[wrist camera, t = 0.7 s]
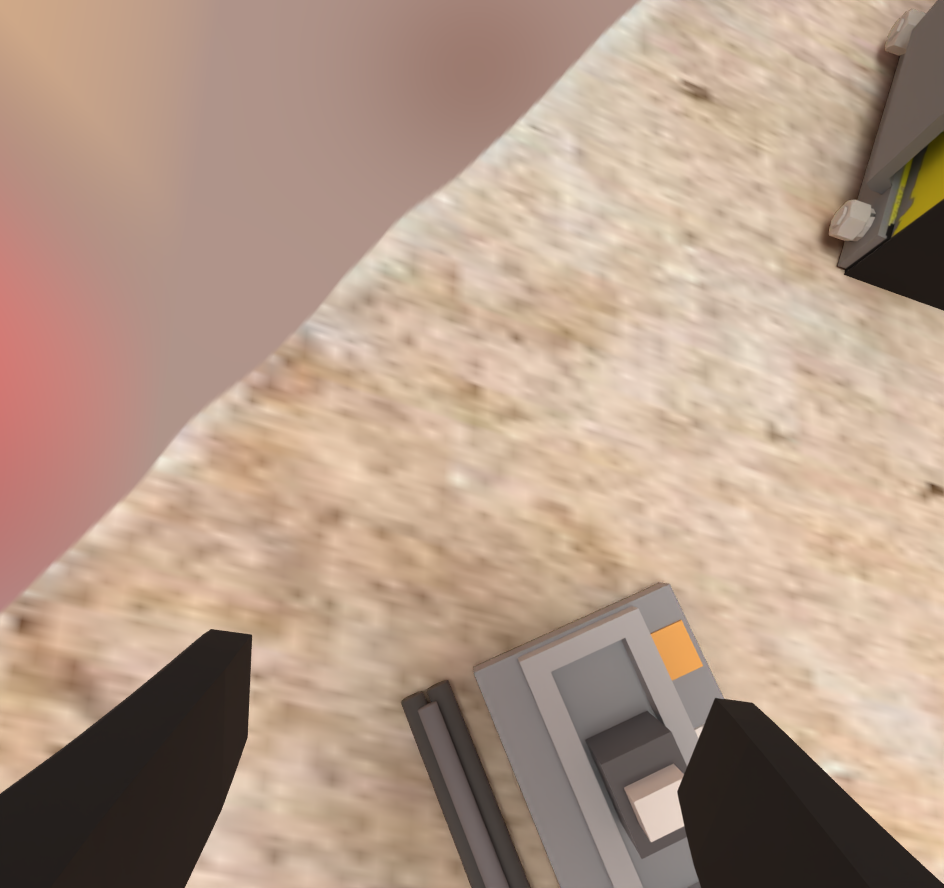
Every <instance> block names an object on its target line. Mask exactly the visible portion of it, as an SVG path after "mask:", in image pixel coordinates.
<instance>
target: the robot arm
mask: <svg viewBox="0 0 944 888" xmlns="http://www.w3.org/2000/svg"><path fill="white" fill-rule="evenodd" d="M251 649H252V635H250V634H243V633H236V632H228V631H221V630H214V629H211V630H209V631H208V632H206V633H205V634H203V635H202V636H201V637H200V638H198V639H197V640H196V641H195V642H194V643H192V644H191V645H190V646H189V647H188V648H186V649H185V650H184V651H183V652H182V653H181V654H179V655H178V656H177V657H176V658H175V659H173V660H172V661H171V662H170V663H169V664H167V665H166V666H165V667H164V668H163V669H161V670H160V671H159V672H158V673H157V674H155V675H154V676H153V677H152V678H151V679H149V680H148V681H147V682H146V683H145V684H143V685H142V686H141V687H140V688H138V689H137V690H136V691H135V692H134V693H132V694H131V695H130V696H129V697H127V698H126V699H125V700H124V701H122V702H121V703H120V704H119V705H117V706H116V707H115V708H114V709H112V710H111V711H110V712H108V713H107V714H106V715H105V716H103V717H102V718H101V719H100V720H98V721H97V722H96V723H95V724H93V725H92V726H91V727H89V728H88V729H87V730H86V731H84V732H83V733H82V734H81V735H79V736H78V737H77V738H75V739H74V740H73V741H71V742H70V743H69V744H68V745H66V746H65V747H64V748H62V749H61V750H60V751H58V752H57V753H55V754H54V755H53V756H51V757H50V758H49V759H47V760H46V761H44V762H43V763H42V764H40V765H39V766H38V767H36V768H35V769H33V770H32V771H31V772H29V773H28V774H27V775H25V776H24V777H23V778H21V779H20V780H18V781H17V782H16V783H14V784H13V785H12V786H10V787H9V788H7V789H6V790H5V791H3V792H2V793H1V794H0V888H185V886H186V884H187V882H188V880H189V878H190V876H191V873H192V871H193V869H194V867H195V865H196V863H197V861H198V859H199V857H200V855H201V852H202V850H203V848H204V846H205V844H206V842H207V840H208V838H209V836H210V833H211V831H212V829H213V827H214V825H215V823H216V821H217V818H218V816H219V814H220V812H221V810H222V807H223V805H224V802H225V799H226V796H227V794H228V791H229V788H230V786H231V783H232V780H233V777H234V775H235V772H236V769H237V766H238V763H239V760H240V758H241V755H242V752H243V749H244V746H245V743H246V740H247V738H248V716H249V693H250V671H251ZM677 794H678V799H679V803H680V808H681V813H682V817H683V822H684V827H685V832H686V836H687V840H688V844H689V848H690V852H691V856H692V860H693V864H694V868H695V871H696V874H697V877H698V880H699V883H700V886H701V888H944V884H943V883H942V882H941V881H939V880H938V879H937V878H936V877H935V876H934V875H933V874H932V873H931V872H930V871H928V870H927V869H926V868H925V867H924V866H923V865H922V864H921V863H920V862H919V861H918V860H917V859H915V858H914V857H913V856H912V855H911V854H910V853H909V852H908V851H907V850H906V849H905V848H904V847H903V846H902V845H900V844H899V843H898V842H897V841H896V840H895V839H894V838H893V837H892V836H891V835H890V834H889V833H888V832H887V831H886V830H885V829H884V828H883V827H881V826H880V825H879V824H878V823H877V822H876V821H875V820H874V819H873V818H872V817H871V816H870V815H869V814H868V813H867V812H866V811H865V810H864V809H863V808H862V807H861V806H860V805H859V804H858V803H856V802H855V801H854V800H853V799H852V798H851V797H850V796H849V795H848V794H847V793H846V792H845V791H844V790H843V789H842V788H841V787H840V786H839V785H838V784H837V783H836V782H835V781H834V780H833V779H832V778H831V777H830V776H829V775H828V774H827V773H826V772H825V771H824V770H823V769H822V768H821V767H820V766H819V765H818V764H817V763H815V762H814V761H813V760H812V759H811V758H810V757H809V756H808V755H807V754H806V753H805V752H804V751H803V750H802V749H801V748H800V747H799V746H798V745H797V744H796V743H795V742H794V741H793V740H792V739H791V738H790V737H789V736H788V735H787V734H786V733H785V732H784V731H783V730H781V729H780V728H779V727H778V726H777V725H776V724H775V723H774V722H773V721H772V720H771V719H770V718H769V717H768V716H767V715H765V714H764V713H763V712H762V711H761V710H760V709H759V708H758V707H756V706H755V705H754V704H753V703H750V702H742V701H735V700H728V699H720V698H715V699H714V701H713V704H712V706H711V709H710V711H709V714H708V716H707V719H706V721H705V724H704V726H703V729H702V731H701V734H700V736H699V739H698V741H697V744H696V746H695V748H694V751H693V753H692V756H691V758H690V761H689V763H688V766H687V768H686V771H685V773H684V776H683V778H682V781H681V783H680V786H679V788H678V791H677Z"/></svg>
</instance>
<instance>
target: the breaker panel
mask: <svg viewBox="0 0 944 888" xmlns="http://www.w3.org/2000/svg"><path fill="white" fill-rule="evenodd" d="M473 672H474V675H475V678H476V680H477V683H478V685H479V688H480V690H481V693H482V695H483V697H484V700H485V702H486V705H487V707H488V710H489V712H490V715H491V717H492V720H493V722H494V725H495V727H496V730H497V732H498V734H499V737H500V739H501V742H502V744H503V747H504V749H505V752H506V754H507V757H508V759H509V762H510V764H511V766H512V769H513V771H514V774H515V776H516V779H517V781H518V784H519V786H520V789H521V791H522V794H523V796H524V799H525V801H526V803H527V806H528V808H529V811H530V813H531V816H532V818H533V821H534V823H535V826H536V828H537V831H538V833H539V835H540V838H541V840H542V843H543V845H544V848H545V850H546V853H547V855H548V858H549V860H550V863H551V865H552V868H553V870H554V872H555V875H556V877H557V880H558V882H559V885H560V887H561V888H701V886H700V883H699V880H698V877H697V874H696V871H695V868H694V864H693V860H692V856H691V852H690V848H689V844H688V840H687V837H686V838H684V839H682V840H680V841H678V842H676V843H674V844H672V845H670V846H668V847H666V848H664V849H662V850H660V851H658V852H656V853H654V854H652V855H650V856H648V857H646V858H643V859H641V857H640V855H639V853H638V852H637V850H636V848H635V847H634V845H633V843H632V841H631V840H630V838H629V836H628V834H627V833H626V831H625V829H624V828H623V826H622V824H621V822H620V820H619V818H618V815H617V813H616V811H615V808H614V806H613V804H612V801H611V799H610V797H609V794H608V792H607V790H606V787H605V785H604V783H603V780H602V778H601V776H600V773H599V771H598V769H597V766H596V764H595V762H594V759H593V757H592V755H591V753H590V750H589V748H588V746H587V743H586V741H585V740H586V739H588V738H590V737H593V736H595V735H597V734H599V733H601V732H603V731H605V730H607V729H610V728H612V727H614V726H616V725H618V724H620V723H622V722H624V721H626V720H629V719H631V718H633V717H635V716H637V715H639V714H641V713H643V712H646V711H648V712H649V713H651V714H652V715H653V716H654V717H655V718H656V719H657V720H659V721H660V722H661V723H662V724H663V725H664V726H666V727H667V728H668V729H669V730H670V731H671V732H672V734H673V736H674V738H675V741H676V743H677V745H678V747H679V749H680V752H681V754H682V756H683V758H684V760H685V763H686V765H687V766H688V763H689V761H690V758H691V756H692V753H693V751H694V748H695V746H696V744H697V741H698V739H699V736H700V734H701V731H702V729H703V726H704V724H705V721H706V719H707V716H708V714H709V711H710V709H711V706H712V704H713V701H714V699H715V698H720V699H724V697H723V695H722V693H721V691H720V689H719V687H718V685H717V683H716V680H715V678H714V676H713V674H712V672H711V670H710V668H709V666H708V664H707V661H706V659H705V657H704V655H703V653H702V651H701V649H700V647H699V645H698V643H697V640H696V638H695V636H694V634H693V632H692V630H691V628H690V626H689V624H688V621H687V619H686V617H685V615H684V613H683V611H682V609H681V607H680V605H679V602H678V600H677V598H676V596H675V594H674V592H673V590H672V588H671V586H670V584H666V583H658V584H656V585H654V586H651V587H649V588H647V589H645V590H643V591H640V592H638V593H636V594H634V595H632V596H629V597H627V598H625V599H623V600H621V601H618V602H616V603H614V604H612V605H609V606H607V607H605V608H603V609H601V610H598V611H596V612H594V613H592V614H590V615H587V616H585V617H583V618H581V619H579V620H576V621H574V622H572V623H570V624H567V625H565V626H563V627H561V628H559V629H556V630H554V631H552V632H550V633H548V634H545V635H543V636H541V637H539V638H537V639H534V640H532V641H530V642H528V643H525V644H523V645H521V646H519V647H517V648H514V649H512V650H510V651H508V652H506V653H503V654H501V655H499V656H497V657H495V658H492V659H490V660H488V661H486V662H483V663H481V664H479V665H477V666H475V667H473Z"/></svg>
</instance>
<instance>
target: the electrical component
mask: <svg viewBox="0 0 944 888" xmlns="http://www.w3.org/2000/svg"><path fill="white" fill-rule="evenodd" d="M885 51H887V52H890V53H893V54H896V55H898V56H900V58H899V62H898V65H897V68H896V72H895V75H894V78H893V82H892V85H891V88H890V92H889V95H888V98H887V102H886V105H885V108H884V112H883V115H882V118H881V122H880V125H879V129H878V132H877V135H876V139H875V142H874V145H873V149H872V152H871V155H870V159H869V162H868V165H867V169H866V172H865V175H864V179H863V182H862V185H861V189H860V192H859V196H858V199H857V200H848V201H847V202H846V203H845V204H844V205H843V206H842V207H841V208H839V210H838V211H837V212H836V213H835V215H834V217H833V219H832V220H831V225H830V227H829V236H832V237H835V238H838V239H841V240H843V241H845V242H844V246H843V249H842V252H841V256H840V259H839V263H838V266H839V267H842V268H845V269H846V270H845V273H844V275H846V276H849V277H852V278H855V279H857V280H860V281H863V282H866V283H869V284H871V285H874V286H877V287H880V288H882V289H885V290H888V291H891V292H894V293H896V294H899V295H902V296H905V297H907V298H910V299H913V300H916V301H919V302H921V303H924V304H927V305H930V306H933V307H935V308H938V309H941V310H944V0H937V2H936V3H935V4H934V5H933V6H932V7H931V9H930V10H929V11H928V12H927V13H924V12H921V11H918V10H915V9H911V10H909V11H907V12H905V13H904V15H903V16H902V17H901V18H899V19H898V21H897V22H896V23H895V24H894V26H893V27H892V29H891V31H890V33H889V35H888V39H887V42H886V44H885Z"/></svg>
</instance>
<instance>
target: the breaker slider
mask: <svg viewBox="0 0 944 888" xmlns="http://www.w3.org/2000/svg"><path fill="white" fill-rule="evenodd" d="M585 741H586V743H587V746H588V748H589V750H590V753H591V755H592V757H593V759H594V762H595V764H596V766H597V769H598V771H599V773H600V776H601V778H602V780H603V783H604V785H605V787H606V790H607V792H608V794H609V797H610V799H611V801H612V804H613V806H614V808H615V811H616V813H617V815H618V818H619V820H620V822H621V824H622V826H623V828H624V829H625V831H626V833H627V834H628V836H629V838H630V840H631V841H632V843H633V845H634V847H635V848H636V850H637V852H638V853H639V855H640V857H641V859H643V858H646V857H648V856H650V855H652V854H654V853H656V852H658V851H660V850H662V849H664V848H666V847H668V846H670V845H672V844H674V843H676V842H678V841H680V840H682V839H684V838H686V837H687V836H686V832H685V827H684V822H683V817H682V813H681V808H680V803H679V799H678V794H677V791H678V788H679V786H680V783H681V781H682V778H683V776H684V773H685V771H686V768H687V765H686V763H685V760H684V758H683V756H682V754H681V752H680V749H679V747H678V745H677V743H676V741H675V738H674V736H673V734H672V732H671V731H670V730H669V729H668V728H667V727H666V726H664V725H663V724H662V723H661V722H660V721H659V720H657V719H656V718H655V717H654V716H653V715H652V714H651V713H649V712H648V711H646V712H643V713H641V714H639V715H637V716H635V717H633V718H631V719H629V720H626V721H624V722H622V723H620V724H618V725H616V726H614V727H612V728H610V729H607V730H605V731H603V732H601V733H599V734H597V735H595V736H593V737H590V738H588V739H586V740H585Z"/></svg>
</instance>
